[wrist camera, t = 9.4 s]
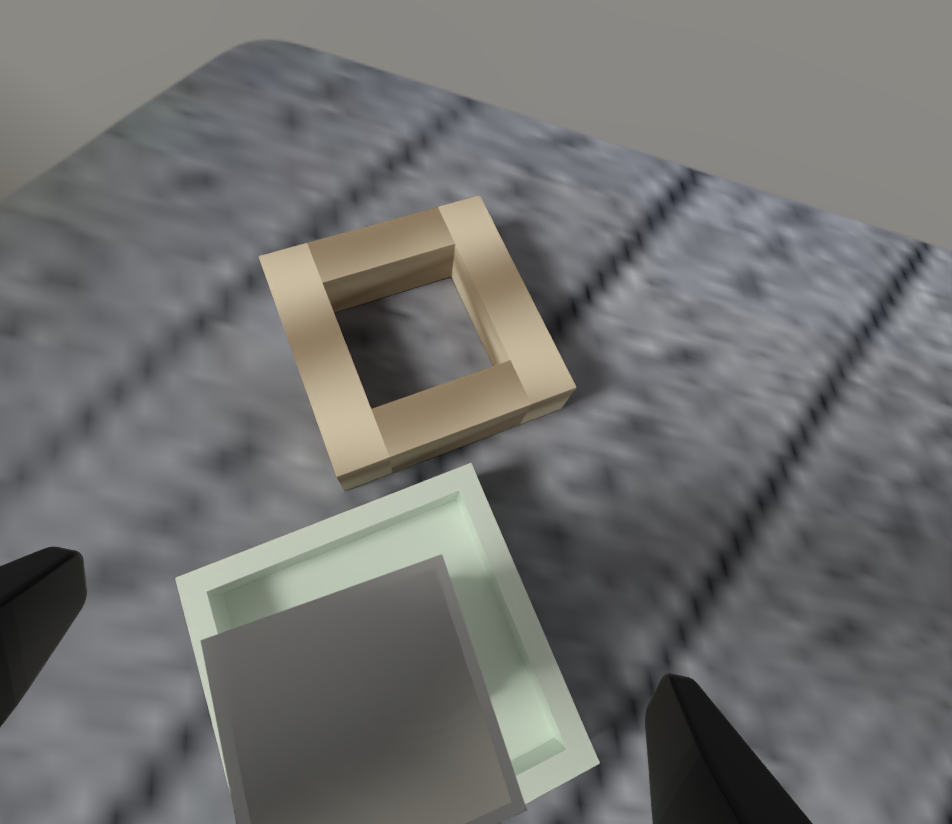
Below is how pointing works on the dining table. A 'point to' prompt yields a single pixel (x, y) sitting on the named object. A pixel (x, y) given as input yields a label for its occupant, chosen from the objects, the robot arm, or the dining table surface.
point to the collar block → (396, 270)
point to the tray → (392, 548)
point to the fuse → (361, 710)
